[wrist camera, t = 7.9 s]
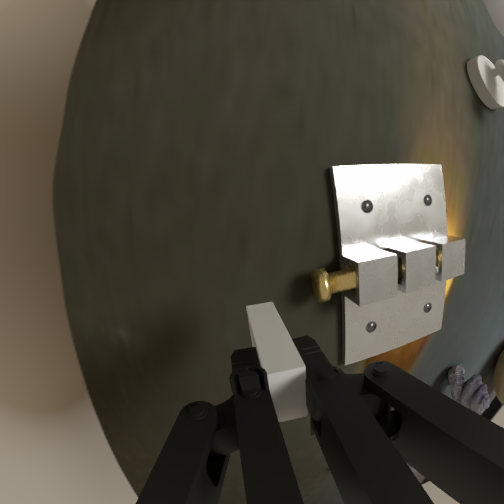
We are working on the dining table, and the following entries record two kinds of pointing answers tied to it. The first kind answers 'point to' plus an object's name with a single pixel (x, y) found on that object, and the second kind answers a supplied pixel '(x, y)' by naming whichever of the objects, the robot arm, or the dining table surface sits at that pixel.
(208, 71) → the dining table surface
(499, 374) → the decorative ball
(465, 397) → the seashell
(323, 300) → the pin
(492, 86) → the wall hook
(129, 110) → the dining table surface
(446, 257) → the hinge leaves
